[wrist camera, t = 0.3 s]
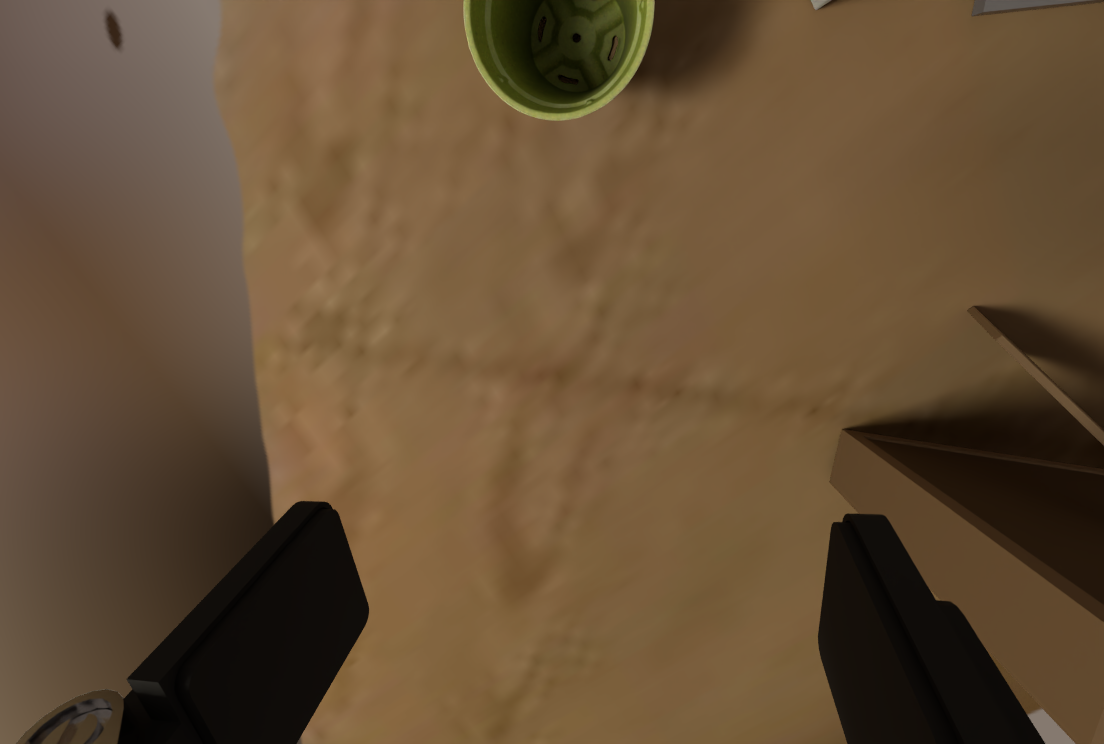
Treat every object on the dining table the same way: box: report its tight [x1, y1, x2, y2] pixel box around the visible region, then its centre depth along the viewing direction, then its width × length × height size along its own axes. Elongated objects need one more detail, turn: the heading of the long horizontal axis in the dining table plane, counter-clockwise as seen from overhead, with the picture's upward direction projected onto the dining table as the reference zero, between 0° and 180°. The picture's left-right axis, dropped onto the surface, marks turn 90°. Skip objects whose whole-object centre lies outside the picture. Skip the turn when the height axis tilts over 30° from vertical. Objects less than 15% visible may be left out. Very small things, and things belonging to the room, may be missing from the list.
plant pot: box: [463, 0, 655, 121], centre depth 30 cm, size 9×9×9 cm
